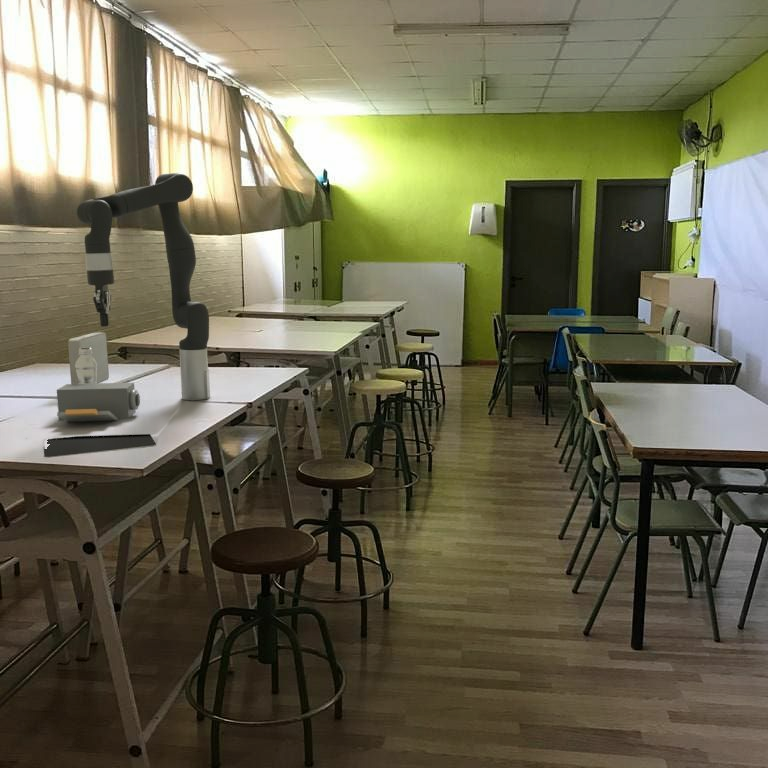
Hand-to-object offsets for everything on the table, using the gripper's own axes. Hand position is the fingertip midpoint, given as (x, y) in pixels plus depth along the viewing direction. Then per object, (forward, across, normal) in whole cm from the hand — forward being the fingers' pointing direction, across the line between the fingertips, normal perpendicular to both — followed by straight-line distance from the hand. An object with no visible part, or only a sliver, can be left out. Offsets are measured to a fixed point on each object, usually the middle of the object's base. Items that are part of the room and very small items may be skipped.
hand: (105, 326), depth 229 cm
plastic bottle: (+28, +8, +9) cm, 30 cm away
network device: (+29, +48, +18) cm, 59 cm away
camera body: (+28, -5, +2) cm, 28 cm away
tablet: (+28, -36, -4) cm, 46 cm away
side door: (+26, -11, +3) cm, 29 cm away
